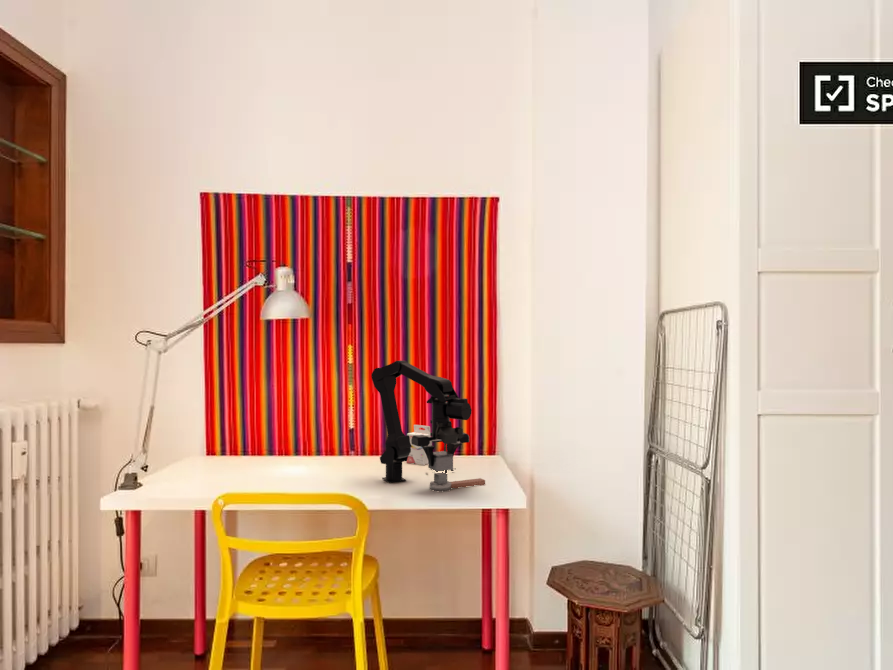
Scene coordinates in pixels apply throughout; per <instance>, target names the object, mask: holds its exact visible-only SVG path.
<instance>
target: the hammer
mask: <svg viewBox="0 0 893 670" xmlns="http://www.w3.org/2000/svg"><path fill="white" fill-rule="evenodd" d="M433 478H434V479H433V481H430V482H429V490H430V489H431V490H430V491H432V490H434V491H433V492H437V491H439V493H440V492H441V493H442V491H443V492H449V490H450V491H451V490H452V489H451V488H455V489H459V488H458V487H464V488H467V487H466V486H472V487H475V486H474V485H480V486H485V485H486V480H485V479H483V478H481V477H480V478H471V479H465V480H455V481H449V480H448V474H446V473H443V472H442V473H435V472H433ZM484 484H485V485H484Z"/></svg>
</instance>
